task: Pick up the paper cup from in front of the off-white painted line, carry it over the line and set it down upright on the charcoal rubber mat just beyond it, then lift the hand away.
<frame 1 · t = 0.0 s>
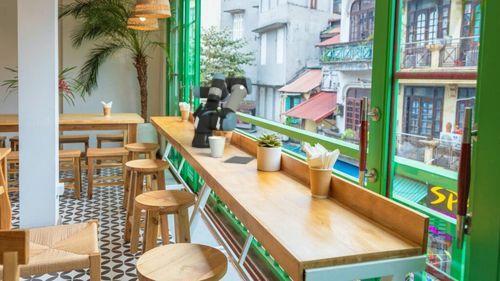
hand: (206, 128, 260), 15 cm above the table, tool tilted 35°, fingers open, 13 cm apart
cup: (217, 157, 255), on the table
foul line: (227, 159, 249), on the table
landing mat: (240, 160, 246), on the table
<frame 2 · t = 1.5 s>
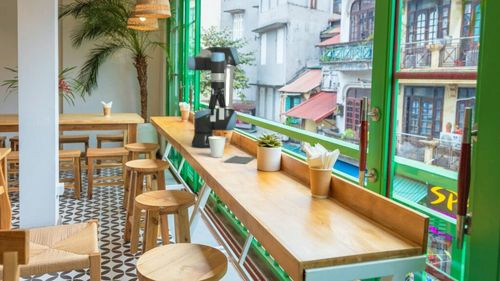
hand: (217, 120, 252), 20 cm above the table, tool pointing down, fingers open, 13 cm apart
nothing on the table moved.
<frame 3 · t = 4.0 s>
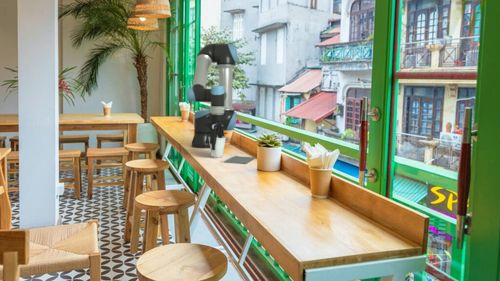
hand: (217, 154, 254), 2 cm above the table, tool pointing down, fingers closed on cup, 9 cm apart
cup: (217, 157, 255), on the table, touching gripper
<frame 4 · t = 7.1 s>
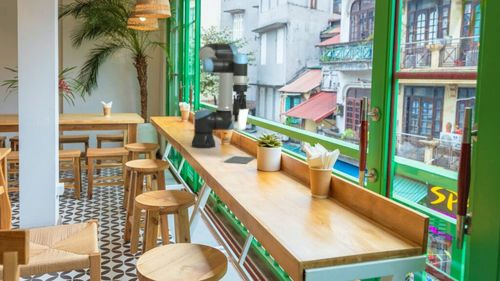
hand: (239, 126, 243), 18 cm above the table, tool pointing down, fingers closed on cup, 9 cm apart
cup: (239, 130, 244), point 16 cm above the table, touching gripper
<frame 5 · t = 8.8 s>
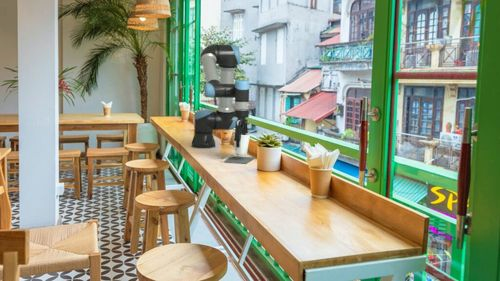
hand: (241, 151, 245), 5 cm above the table, tool pointing down, fingers closed on cup, 9 cm apart
cup: (241, 155, 245), point 3 cm above the table, touching gripper
when the fingers open (3 cm above the table, at t = 10.0 s): cup stays where it is, resting on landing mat.
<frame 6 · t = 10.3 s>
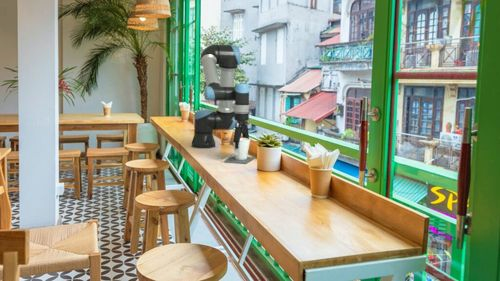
hand: (241, 152, 245), 4 cm above the table, tool pointing down, fingers open, 13 cm apart
cup: (240, 159, 246), resting on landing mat
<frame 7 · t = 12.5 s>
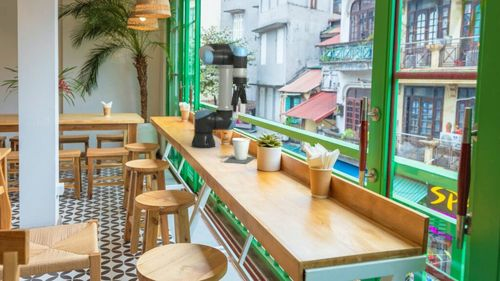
hand: (239, 116, 245), 23 cm above the table, tool pointing down, fingers open, 13 cm apart
nothing on the table moved.
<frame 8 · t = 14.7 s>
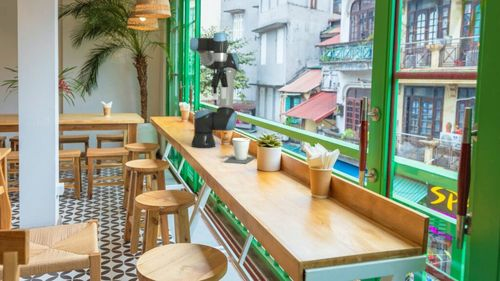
hand: (219, 99, 260), 32 cm above the table, tool pointing down, fingers open, 13 cm apart
nothing on the table moved.
at the end: cup inside the target area (3.0 cm from its centre), resting on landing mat; cup tilted 0°; the gripper is holding nothing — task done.
